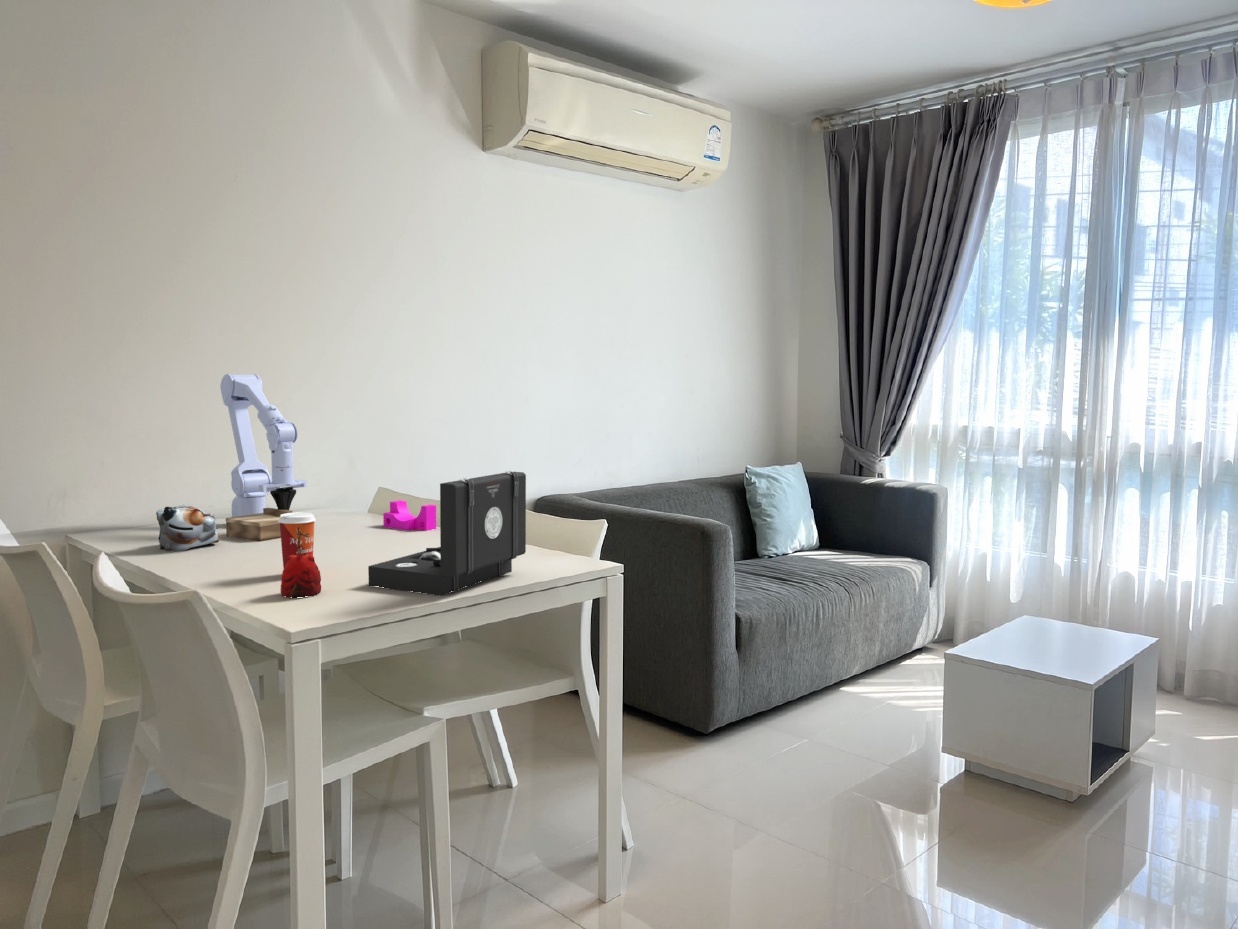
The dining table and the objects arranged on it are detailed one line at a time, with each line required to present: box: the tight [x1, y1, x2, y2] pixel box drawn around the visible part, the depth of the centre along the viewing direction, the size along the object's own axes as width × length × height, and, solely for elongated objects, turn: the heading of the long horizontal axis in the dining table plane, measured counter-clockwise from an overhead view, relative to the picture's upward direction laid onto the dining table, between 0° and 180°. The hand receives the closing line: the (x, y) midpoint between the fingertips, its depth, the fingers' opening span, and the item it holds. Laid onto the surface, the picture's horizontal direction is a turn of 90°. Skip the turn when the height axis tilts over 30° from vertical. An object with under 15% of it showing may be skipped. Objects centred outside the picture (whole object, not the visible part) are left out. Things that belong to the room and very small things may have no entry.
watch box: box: [367, 469, 527, 597], centre depth 194 cm, size 26×28×24 cm
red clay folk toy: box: [280, 526, 322, 598], centre depth 179 cm, size 8×7×15 cm
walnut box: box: [225, 521, 281, 542], centre depth 247 cm, size 14×12×4 cm
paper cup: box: [278, 511, 317, 569], centre depth 197 cm, size 8×8×14 cm
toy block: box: [382, 499, 437, 532], centre depth 261 cm, size 15×6×8 cm, turn 55°
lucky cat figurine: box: [155, 504, 220, 552], centre depth 228 cm, size 15×12×14 cm
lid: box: [225, 507, 293, 527], centre depth 247 cm, size 14×12×3 cm
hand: (283, 515), depth 253 cm, fingers closed
